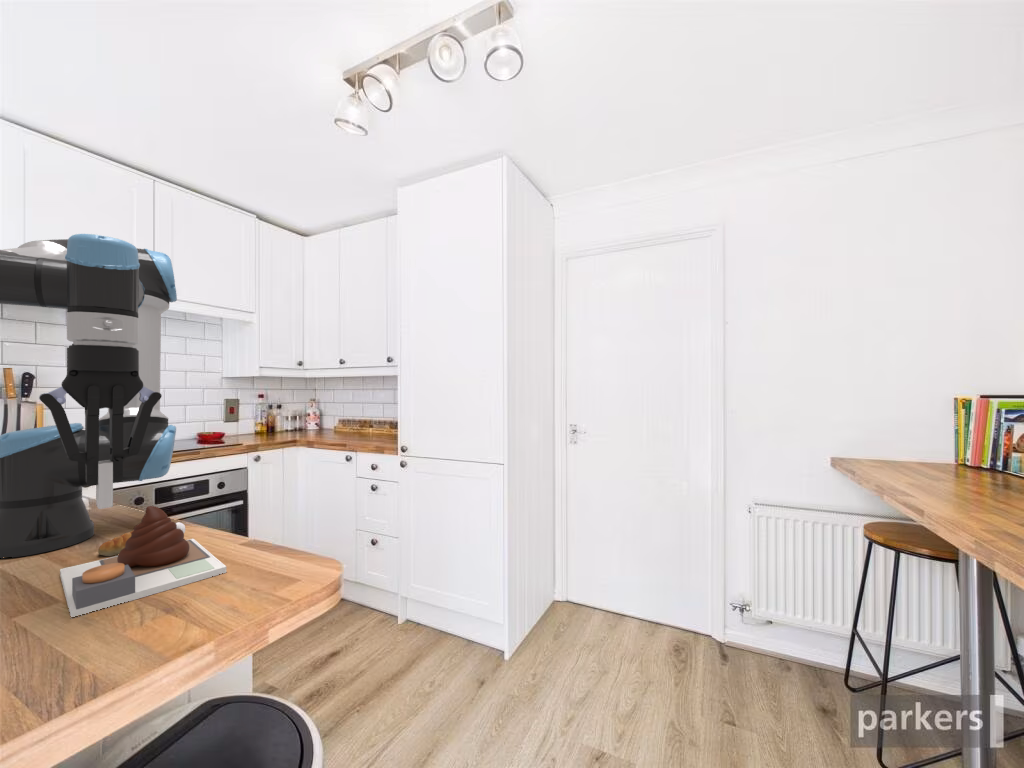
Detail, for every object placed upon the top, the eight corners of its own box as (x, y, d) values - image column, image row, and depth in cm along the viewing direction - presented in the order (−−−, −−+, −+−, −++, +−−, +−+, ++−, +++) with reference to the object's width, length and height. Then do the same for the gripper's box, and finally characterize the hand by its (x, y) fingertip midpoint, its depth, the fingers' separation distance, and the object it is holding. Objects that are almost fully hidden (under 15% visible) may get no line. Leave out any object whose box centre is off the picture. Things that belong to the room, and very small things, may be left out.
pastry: (102, 562, 75) (102, 541, 75) (94, 553, 79) (94, 533, 79) (168, 546, 82) (168, 526, 82) (157, 538, 86) (157, 520, 86)
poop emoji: (102, 571, 68) (102, 514, 68) (144, 550, 77) (144, 499, 77) (167, 569, 69) (167, 512, 69) (202, 549, 77) (202, 498, 77)
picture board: (59, 575, 69) (60, 554, 69) (193, 543, 83) (193, 525, 83) (71, 618, 56) (71, 592, 56) (226, 572, 70) (226, 551, 70)
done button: (80, 593, 61) (80, 570, 61) (121, 582, 64) (121, 560, 64) (84, 603, 58) (84, 579, 58) (126, 591, 61) (126, 568, 61)
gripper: (37, 340, 54) (38, 523, 54) (167, 347, 64) (167, 501, 64) (35, 343, 58) (36, 511, 59) (156, 348, 68) (156, 492, 69)
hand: (104, 505), depth 61 cm, fingers closed
